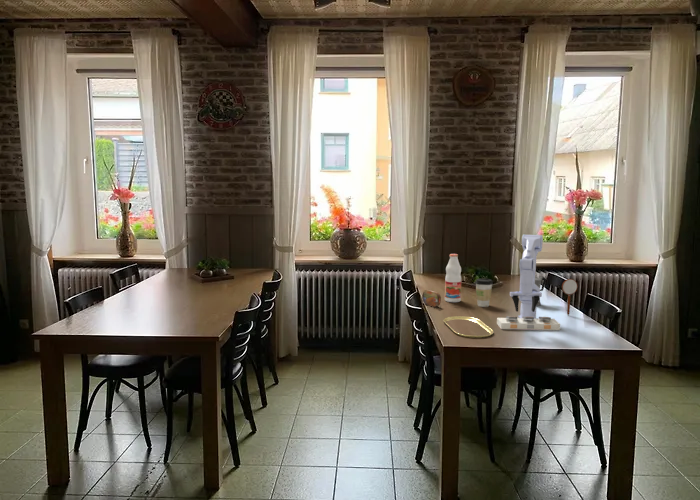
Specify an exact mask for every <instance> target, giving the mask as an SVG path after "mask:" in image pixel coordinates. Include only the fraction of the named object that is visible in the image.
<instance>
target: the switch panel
mask: <svg viewBox="0 0 700 500" xmlns="http://www.w3.org/2000/svg"><path fill="white" fill-rule="evenodd" d="M496 325H498V327H499V328H500V330H532V331H533V330H535V331H536V330H538V331H561V323H560V322H558V321H557V320H556V319H555V318H551V320H544V319H539V317H538V318H537V317H536V318H534V319H523V318H519V317H517V319H507V318H506V317H497V318H496Z"/></svg>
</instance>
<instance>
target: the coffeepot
mask: <svg viewBox="0 0 700 500" xmlns="http://www.w3.org/2000/svg"><path fill="white" fill-rule="evenodd" d="M546 283H547V279H546V277H545V276H540V277H536V276H535V284H536V285H537V286H538V287H539V288H540V292H543V291H544V289H545V286H546ZM532 290H535V289H532ZM536 291H537V290H536ZM540 305H541V299H540V300H539V302H538V303H537V306H540ZM537 306H536V307H537Z"/></svg>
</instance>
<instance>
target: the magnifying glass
mask: <svg viewBox="0 0 700 500" xmlns="http://www.w3.org/2000/svg"><path fill="white" fill-rule="evenodd" d="M578 287H579V285H578V281H576V280H575V279H574V278H567V279H565V280H564V281H563V282H562V284H561V290H562V292H563V293H564V294H565V295H567V308H566V309H567V310H566V315H567V317H568V316H570V313H571V312H570V311H571V295H574V294H575V293H576V292H577V291H578Z"/></svg>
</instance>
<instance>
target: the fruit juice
mask: <svg viewBox="0 0 700 500" xmlns="http://www.w3.org/2000/svg"><path fill="white" fill-rule="evenodd" d="M458 257H459V254H457V253H450V254H449V260H448V263H447V265H446V267H445V273H446V274H445V278H444V279H445V280H444V281H445V282H444V301H446V302H448V303H459V302H461V300H462V275H461V272H462V267H461V265H460V262H459V259H458Z"/></svg>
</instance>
